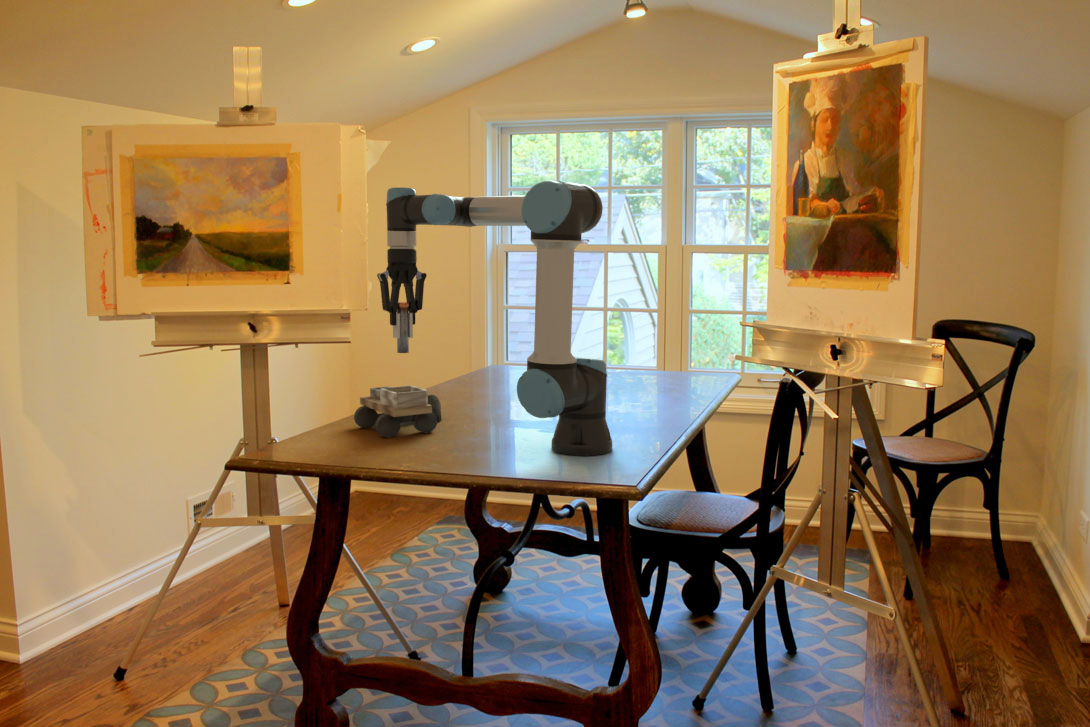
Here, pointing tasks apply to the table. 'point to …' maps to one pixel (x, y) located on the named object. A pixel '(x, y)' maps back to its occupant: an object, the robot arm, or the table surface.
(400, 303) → the pin
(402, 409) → the cart
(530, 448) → the table surface
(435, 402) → the stone
